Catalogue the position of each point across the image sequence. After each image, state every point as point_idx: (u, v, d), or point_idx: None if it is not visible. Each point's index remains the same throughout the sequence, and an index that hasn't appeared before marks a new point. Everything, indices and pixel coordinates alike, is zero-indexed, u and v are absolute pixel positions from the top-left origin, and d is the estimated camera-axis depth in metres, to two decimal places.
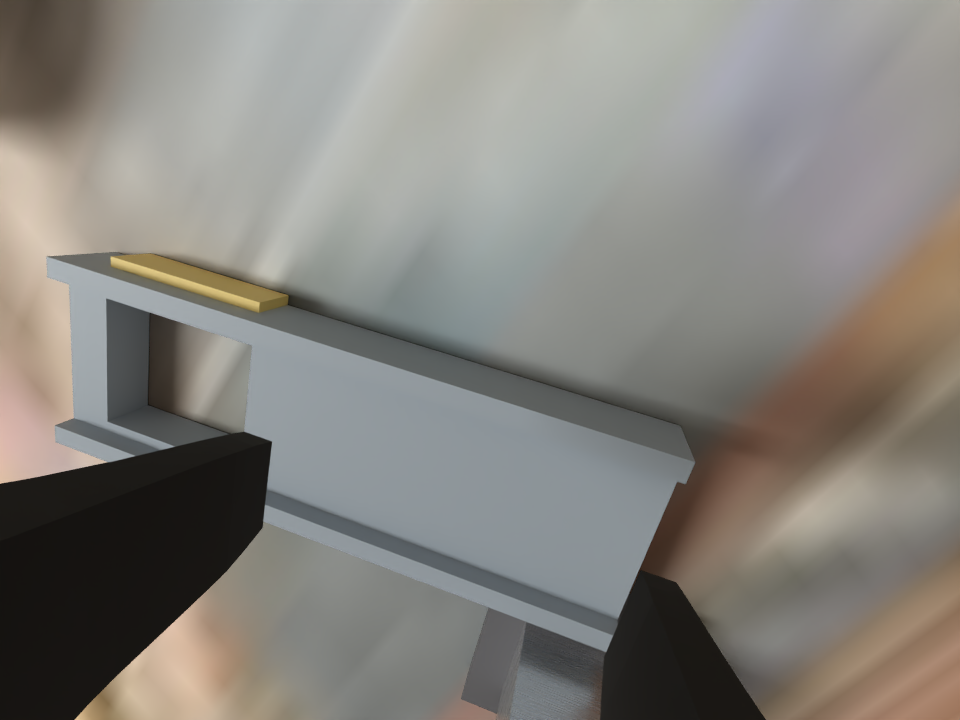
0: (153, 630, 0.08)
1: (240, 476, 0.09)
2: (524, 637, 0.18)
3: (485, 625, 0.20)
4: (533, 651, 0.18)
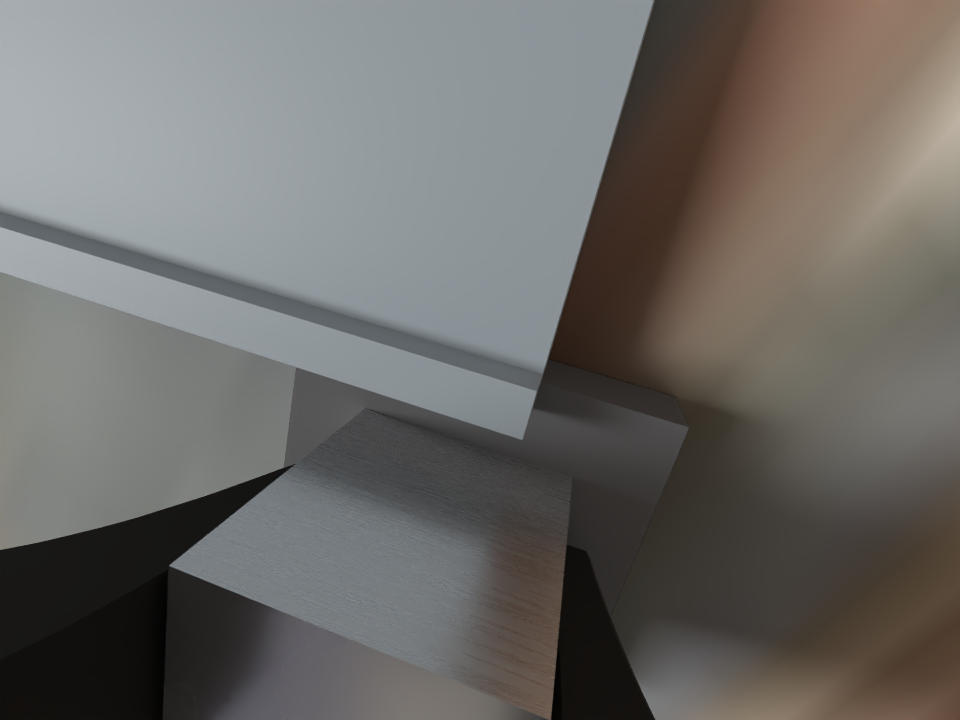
0: None
1: None
2: (340, 431, 0.08)
3: (289, 439, 0.10)
4: (348, 448, 0.08)
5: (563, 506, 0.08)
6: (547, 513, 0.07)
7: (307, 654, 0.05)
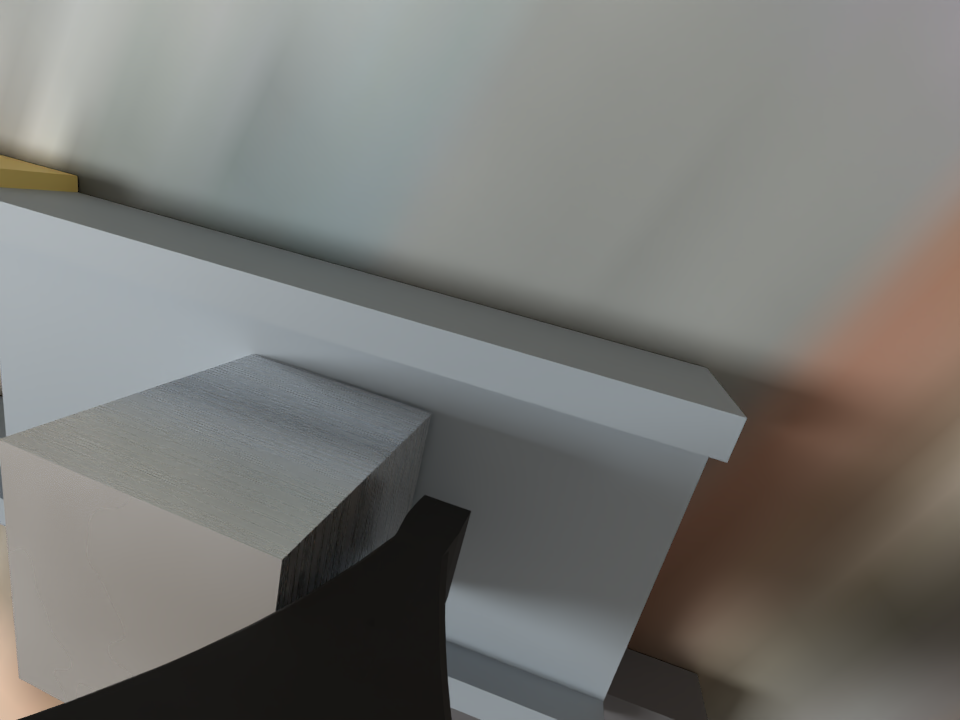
0: None
1: (454, 554, 0.08)
2: (220, 367, 0.09)
3: None
4: (217, 379, 0.09)
5: (405, 432, 0.08)
6: (385, 435, 0.08)
7: (105, 513, 0.06)
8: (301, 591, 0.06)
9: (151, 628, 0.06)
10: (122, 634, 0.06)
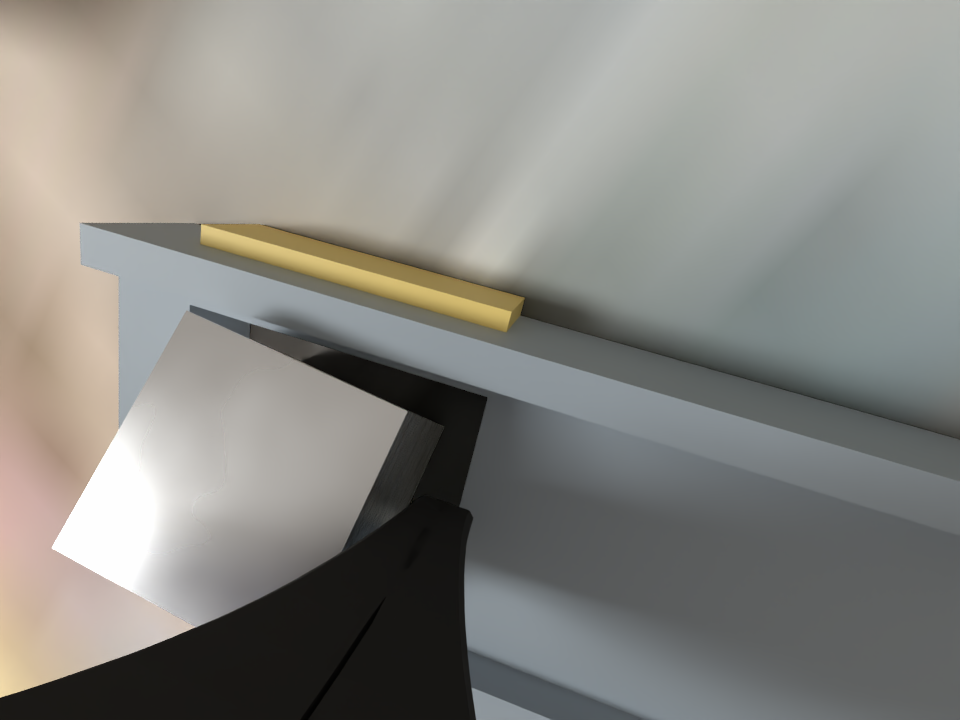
0: None
1: None
2: None
3: None
4: None
5: (434, 422, 0.11)
6: (423, 417, 0.10)
7: (260, 373, 0.08)
8: (390, 464, 0.08)
9: (256, 477, 0.07)
10: (220, 485, 0.07)
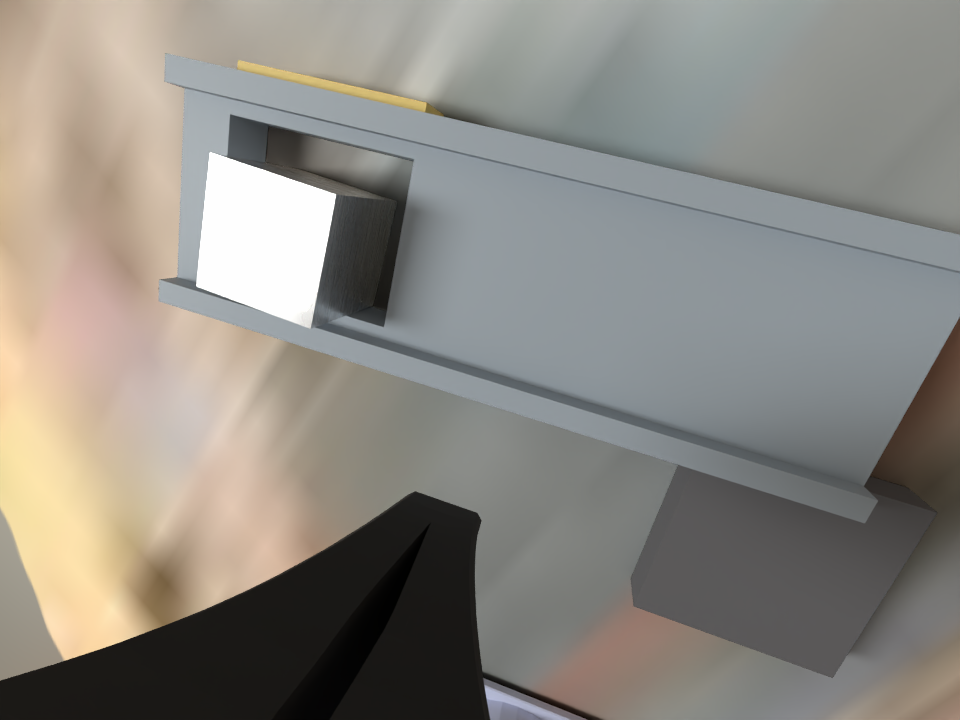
0: None
1: None
2: (284, 167, 0.17)
3: (676, 510, 0.17)
4: (286, 168, 0.17)
5: (383, 199, 0.17)
6: (373, 197, 0.16)
7: (258, 184, 0.14)
8: (339, 226, 0.14)
9: (272, 241, 0.14)
10: (258, 246, 0.14)
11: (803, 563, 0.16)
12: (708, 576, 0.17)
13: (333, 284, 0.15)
